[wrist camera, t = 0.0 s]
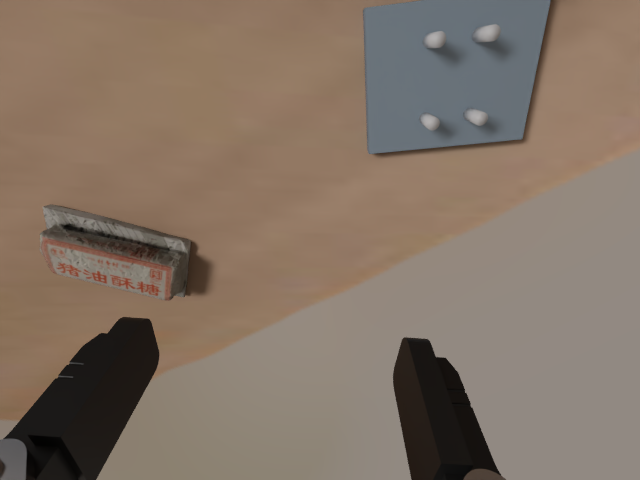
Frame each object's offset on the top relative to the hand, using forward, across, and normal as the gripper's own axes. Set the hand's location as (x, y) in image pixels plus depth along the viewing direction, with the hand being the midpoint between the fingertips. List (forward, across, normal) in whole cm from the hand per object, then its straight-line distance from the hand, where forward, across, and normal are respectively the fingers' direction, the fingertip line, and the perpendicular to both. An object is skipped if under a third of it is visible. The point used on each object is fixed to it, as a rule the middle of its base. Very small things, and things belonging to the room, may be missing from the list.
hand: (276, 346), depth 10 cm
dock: (+29, -13, -7) cm, 33 cm away
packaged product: (+30, +25, +17) cm, 43 cm away
